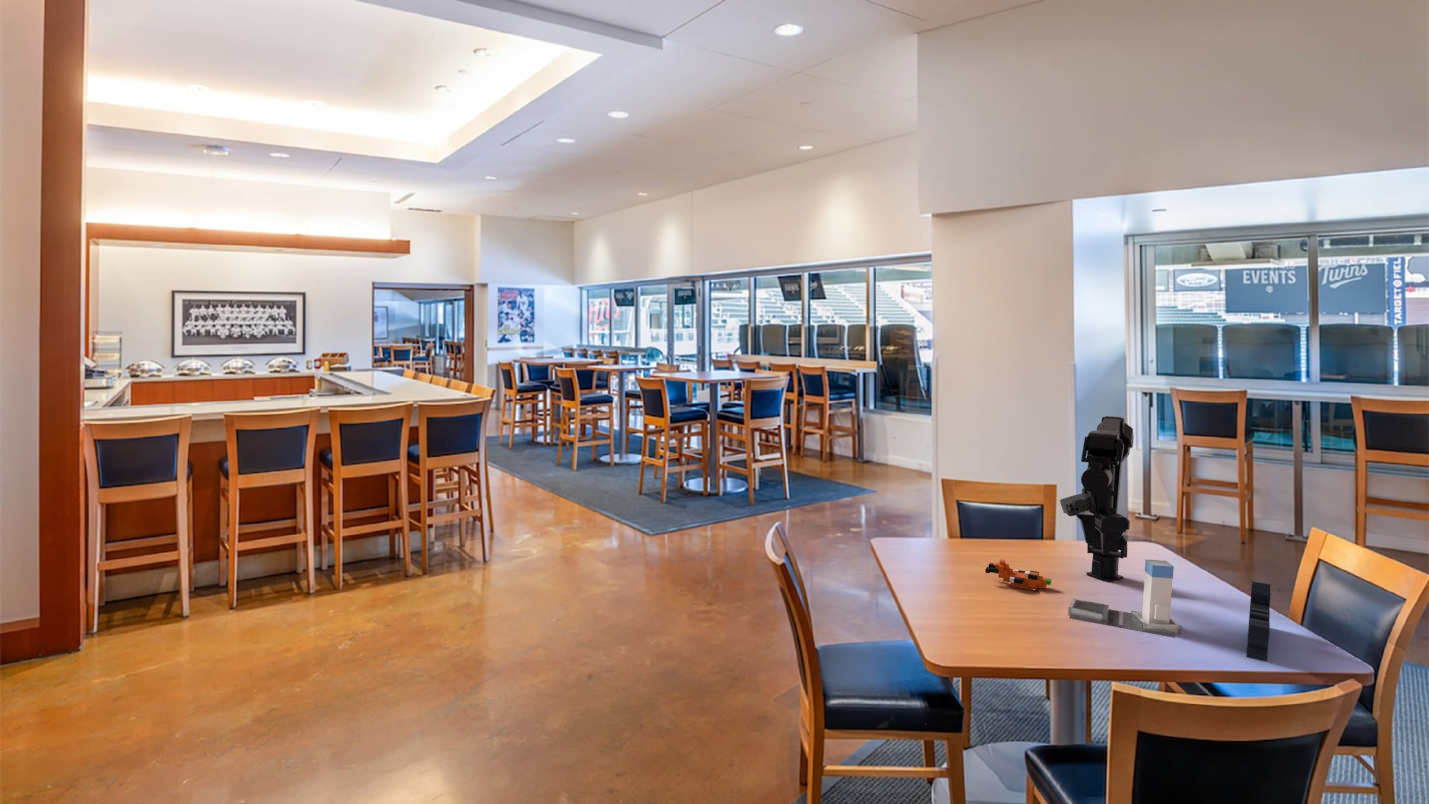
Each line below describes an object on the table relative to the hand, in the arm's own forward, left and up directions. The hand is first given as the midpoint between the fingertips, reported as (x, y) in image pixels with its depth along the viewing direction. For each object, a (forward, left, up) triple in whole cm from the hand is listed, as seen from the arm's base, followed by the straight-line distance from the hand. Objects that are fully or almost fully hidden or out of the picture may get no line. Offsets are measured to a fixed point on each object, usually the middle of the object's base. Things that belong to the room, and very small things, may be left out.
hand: (1096, 548), depth 175 cm
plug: (+4, +17, -12) cm, 21 cm away
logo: (-8, +32, -13) cm, 35 cm away
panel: (+7, +12, -13) cm, 19 cm away
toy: (+9, -15, -13) cm, 21 cm away
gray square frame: (+4, +17, -13) cm, 22 cm away
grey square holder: (+11, +6, -13) cm, 18 cm away
